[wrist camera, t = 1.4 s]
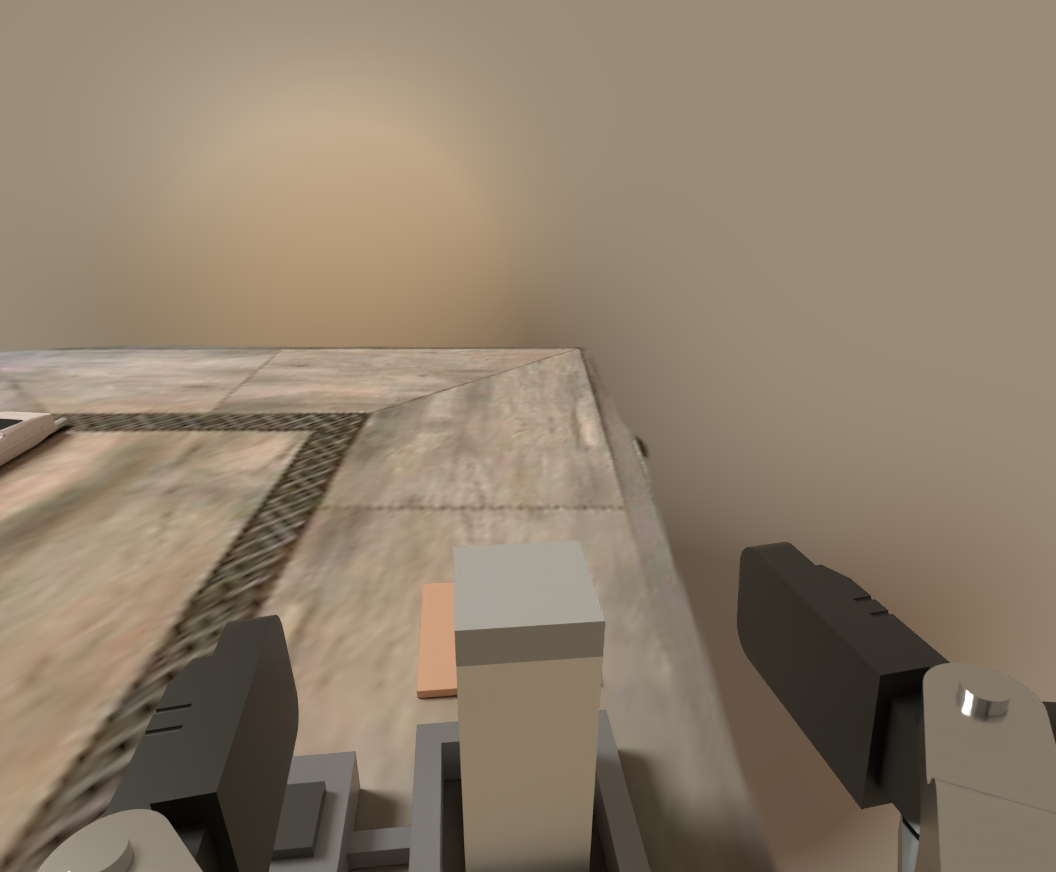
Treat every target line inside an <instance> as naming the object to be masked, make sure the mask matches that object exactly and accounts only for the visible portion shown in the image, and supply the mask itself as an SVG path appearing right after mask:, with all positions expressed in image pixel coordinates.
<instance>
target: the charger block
mask: <svg viewBox="0 0 1056 872" xmlns="http://www.w3.org/2000/svg"><path fill="white" fill-rule="evenodd" d="M604 631H605V619H604V616H603V613H602V610H601V607H600V604H599V601H598V598H597V594H596V591H595V588H594V585H593V582H592V579H591V576H590V573H589V570H588V567H587V564H586V561H585V558H584V555H583V552H582V549H581V545H580V542H579V540H576V541H557V542H538V543H519V544H500V545H482V546H463V547H454V633H455V654H456V675H457V697H458V718H459V740H460V761H461V783H462V804H463V826H464V847H465V868H466V872H589V865H590V849H591V834H592V818H593V803H594V787H595V771H596V756H597V740H598V725H599V709H600V694H601V678H602V662H603V647H604Z"/></svg>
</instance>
